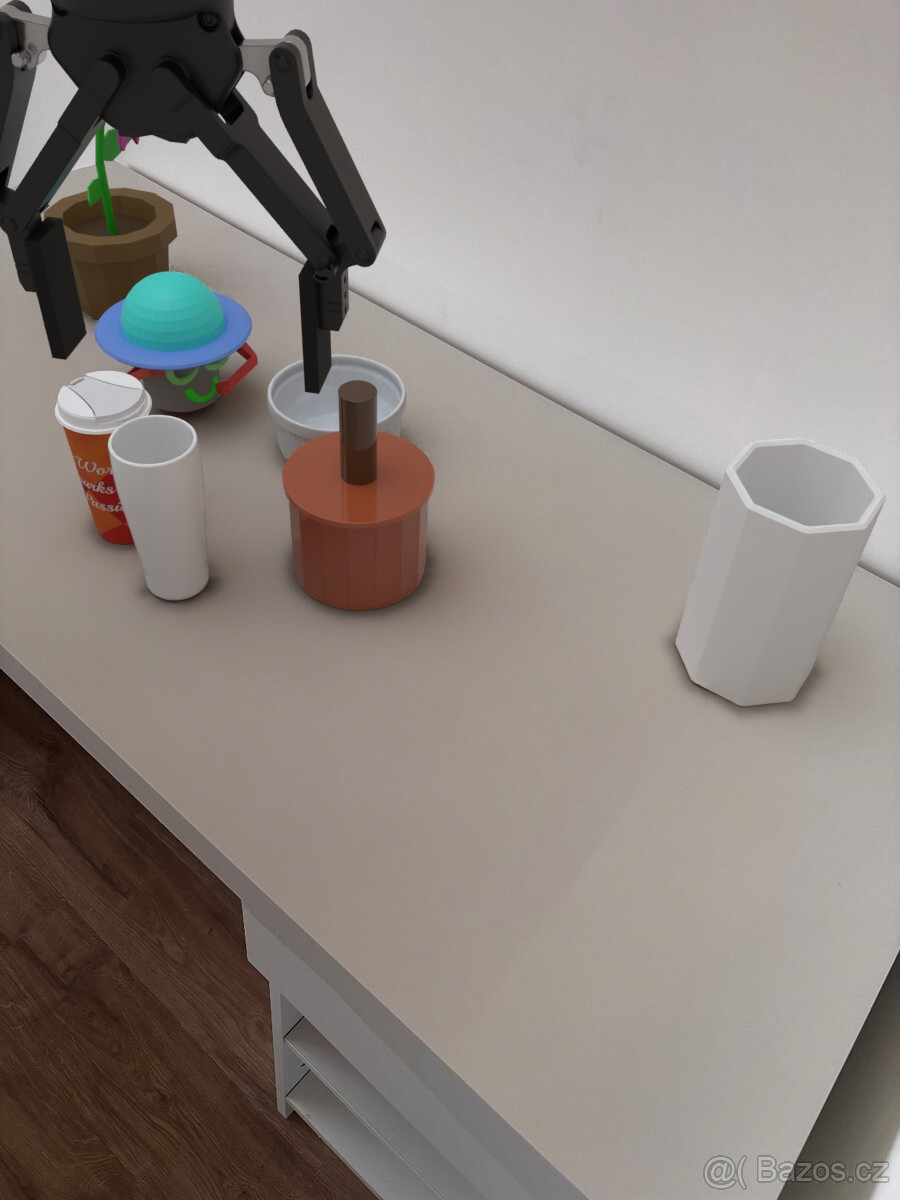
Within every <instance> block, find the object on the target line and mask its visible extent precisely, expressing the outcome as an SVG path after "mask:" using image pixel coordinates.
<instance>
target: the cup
mask: <svg viewBox="0 0 900 1200" xmlns="http://www.w3.org/2000/svg"><path fill="white" fill-rule="evenodd" d="M715 500H716V501H715V504H714V508H713V512H712V514H711V518H710V521H709V525H708V529H707V531H706V535H705V539H704V541H703V544H702V545H703V546H702V549H701V553H700V556H699V559H698V562H697V566H696V570H695V573H694V576H693V580H692V584H691V587H690V591H689V594H688V597H687V600H686V604H685V608H684V612H683V614H682V618H681V621H680V624H679V628H678V631H677V634H676V638H675V646H676V648H677V651H678V653H679V655H680V658H681V660H682V662H683V664H684V666H685V669H686V672H687V674H688V676H689V679H690V680H691V681H692V682H693V683H694V684H697V685H698V686H700V687H702V688H705V690H708V691H710V692H712V693H714V694H716V695H718V696H720V697H721V698H724V699H725V700H727V701H729V702H732V703H733V704H735V705H737V706H741V707H748V706H749V707H750V706H757V705H758V706H760V705H765V704H766V705H767V704H776V703H788V702H792V701H794V699H795V697H796V696H797V694H798V693H799V691H800V689H801V688H802V687H803V685H804V683H805V682H806V680H807V678H808V677H809V675H810V673H812V672H811V671H812V670H813V668H814V666H815V664H816V661H817V659H818V656H819V654H820V652H821V649H822V647H823V645H824V643H825V640H826V639H827V636H828V633H829V631H830V629H831V626H832V624H833V622H834V620H835V617H836V616H837V613H838V610H839V608H840V606H841V604H842V601H843V599H844V597H845V595H846V592H847V590H848V587H849V585H850V583H851V581H852V579H853V576H854V574H855V571H856V569H857V567H858V564H859V562H860V560H861V557H862V555H863V553H864V550H865V547H866V546H867V544H868V541H869V540H870V537H871V536H872V532H873V530H874V527H875V525H876V524H877V521H878V518H879V517H880V514H881V511H882V509H883V507H884V504H885V503H886V500H887V496H886V494H885V493H884V492H883V490H882V489H881V488H880V486H879V485H878V484H877V482H876V481H875V479H874V478H873V476H872V475H871V474H870V472H869V471H868V469H867V468H866V466H865V465H864V464H863V463H862V461H861V460H860V459H859V458H857V457H856V456H852V455H850V454H848V453H845V452H844V451H843V452H842V451H840V450H838V449H835V448H833V447H830V446H827V445H825V444H822V443H820V442H817V441H815V440H812V439H811V438H807V437H792V438H791V437H790V438H774V439H760V440H752V441H749V442H747V444H746V445H745V446H744V447H743V448H742V449H741V450H740V451H739V453H737V454H736V456H734V458H733V459H732V461H731V462H730V463H729V464H728V465H727V466H726V467H725V470H724V473H723V477H722V481H721V483H720V487H719V490H718V494H717V496H716V499H715Z"/></svg>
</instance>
